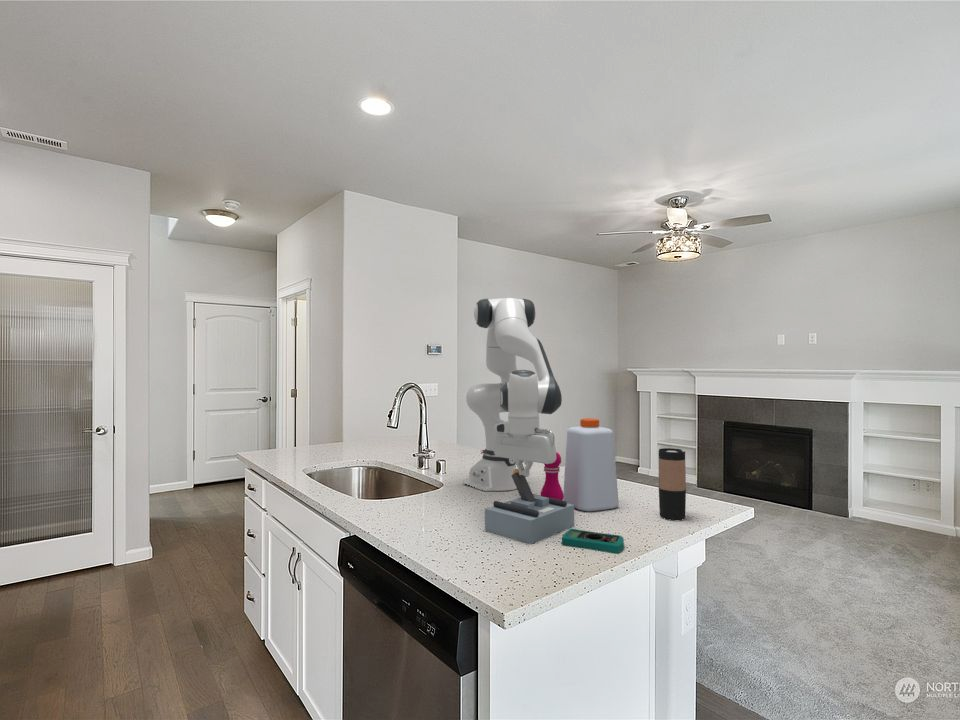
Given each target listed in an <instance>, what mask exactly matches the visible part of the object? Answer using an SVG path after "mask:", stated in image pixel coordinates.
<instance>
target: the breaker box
mask: <svg viewBox="0 0 960 720" xmlns="http://www.w3.org/2000/svg"><path fill="white" fill-rule="evenodd" d="M537 495H538V494H535V495H533V496H534V498H535V500H536V501H535V502H536V503H535V505H534V503H533V502H529V501H524V500H522V499H521V497H518V498H515V499H512V500H509V501H506V502H504V503H507V504H511V505H515V506H520V507H524V508H528V509H532V510H536V511H538V512H539V516H538V517H534V516H530V515H526V514H522V513H518V512H514V511H510V510H506V509H502V508H498V507H495V506H494V505H492V506H489V507H487V508H484V531H485V530H486V532H489V533H492V532H493V533H492V534H495V533H496V535H499V536H503V537H506V538H509V539H511V540H512V539H513V540H515V541H519V542H523V543H525V544H529V545H532V544H535V543H537V542H539V541H541V540H544V539H547V538H550V537H552V536H554V535H556V534H559V533H561V532H562V531H565V530H569V529H571V528H572V527H575V508H574V505H573V504H569V503H567V505H566V506H565V507H563V506H559V505H554V504H550V503H549V498H547V497H542V496H541V495H540V496H537Z"/></svg>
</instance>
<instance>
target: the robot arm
mask: <svg viewBox="0 0 960 720" xmlns="http://www.w3.org/2000/svg"><path fill="white" fill-rule="evenodd" d="M473 310H474V311H473V317H474V321H475V323H476V325H477V326H478V327H479V328H483V329H488V330H487V333H486V345H485V346H486V350H485V351H486V353H485V356H486V357H485V358H486V359H485V365H486V367H487V370H489V371H490V372H491V373H493V374H495V375H497V376H498V377H500V381H501V382H499V383H480V384H475V385H473V386H471V387H470V388H468V390H467V393H466V398H465V400H466V404H467V407H469V410H471V411H472V412H473V413H474V414H476V415H477V416H478V418H479V419H480V421H481V422H482V425H483V427H484V434H485V449H482V450H481V451H480V454H481V455H482V458H481V459H480V460H478V461H477V462H476V463H475V464H474V465H473V466H472V467H470V470H469V476H468V478H467V479H464V480H462V481H463V482H462V484H463V483H464V484H463V485H465V484H467V485H466V486H468V485H470V486H469V487H471V486H472V487H471V488H474V487H475V488H474V489H477V490H480V491H482V490H483V492H490V491H496V492H501V491H502V492H504V491H513V490H514V491H515V490H517V488H516V485H515V483H514V481H513V478H512V476H511V475H513V471H514V470H515V469H518V470H519V476H524V477H525V478H527V477H530V475H531V473H530V470H531V468H532V466H533V464H534V463H535V464H536V463H538V464H543V465H544V464H551V463H554V462H555V460H556V452H557V449H556V443H555V441H556V440H555V434H554V433H553V432H552V431H551V430H550V429H547V428H545V429H544V428H540V414H544V415H552V414H553V413H555V412H557V410H559V408H560V407H561V406H562V402H563V401H562V399H563V397H562V396H563V395H562V392H561V388H560V385H559V384H558V382H557V380H556V378H555V376H554V373H553V370H552V367H551V365H550V361H549V359H548V356H547V354H546V351H545V348H544V346H543V344H542V342H541V340H540V339H538V337H535V336H534V335H533V334H532V333H531V331H530V329H529V328H530V327H532V325H534V323H535V320H536V318H537V317H536V316H537V311H536V307H535V304H534V302H533V301H532V300H530V299H527V298H522V299H521V298H515V297H503V298H502V297H501V298H498V297H497V298H490V299H488V298H483V299H479V300H478V301H477V302H476V303H475V307H474V309H473ZM517 357H520V358H522V359H525V360H528V361H529V362H530V363H531V364H532V365H533V366H534V369H535V371H533V370H530V369H529V370H527V369H517ZM500 413H508V415H507V420H503V419H501V416H500ZM524 465H525V466H524Z"/></svg>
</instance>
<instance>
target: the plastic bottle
mask: <svg viewBox="0 0 960 720" xmlns="http://www.w3.org/2000/svg"><path fill="white" fill-rule="evenodd" d="M579 423H580V424H579V425H580V426H571V427H568V428H567V432H566V447H565V463H564V478H563V496H564V497H563V501H566V502H567V503H569V504H573V505H574V509H575V510H576V509H577V510H579V511H582V512H599V511H605V510H612V509H613V510H614V509H616V508H617V507H618V506H619V491H618V490H619V488H618V479H617V468H616V453H615V440H614V439H615V438H614V431H613V430H612V429H610V428H608V427H603V426H600V420H599V418H587V417H586V418H581V419H580V421H579Z"/></svg>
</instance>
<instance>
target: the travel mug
mask: <svg viewBox="0 0 960 720" xmlns="http://www.w3.org/2000/svg"><path fill="white" fill-rule="evenodd" d="M686 478H687V476H686V451H684V450H682V449H681V448H673V447H669V448H666V447H664V448H658V500H659V502H658V503H659V504H658V505H659V507H658V508H659V516H661V517H663V518H662V519H664V518H665V519H664V520H667V519H671V520H670V521H674V520H679V521H683V520H682V519H684V520H686V509H687V508H686V500H687V499H686V498H687V482H686V481H687V479H686ZM661 517H660V518H661Z"/></svg>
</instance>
